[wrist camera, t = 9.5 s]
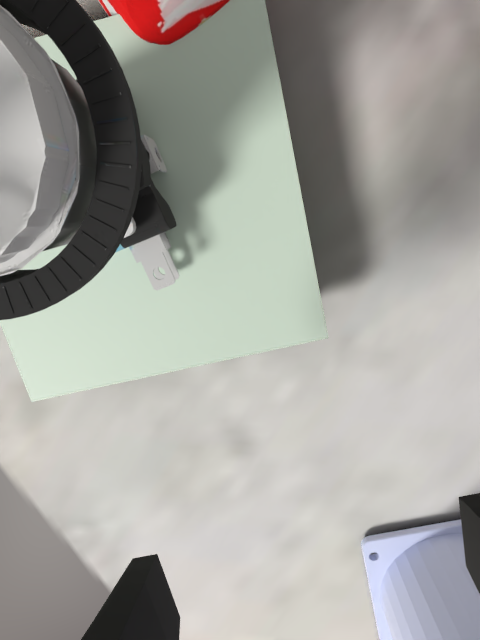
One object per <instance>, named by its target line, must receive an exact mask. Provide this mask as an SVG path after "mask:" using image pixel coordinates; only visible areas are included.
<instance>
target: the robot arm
mask: <svg viewBox="0 0 480 640" xmlns="http://www.w3.org/2000/svg"><path fill="white" fill-rule="evenodd" d="M459 504H460V514H461V519H460V520H454V521H449V522H443V523H437V524H432V525H426V526H421V527H415V528H409V529H404V530H398V531H393V532H387V533H381V534H376V535H370V536H367V537H365V538H364V539H363V540H362V542H361V548H362V553H363V558H364V563H365V568H366V573H367V579H368V584H369V589H370V594H371V599H372V604H373V610H374V615H375V620H376V625H377V630H378V636H379V640H480V493H478V494H473V495H467V496H462V497H459ZM373 552H376V553H375V554H373V555H372V554H371V553H373ZM179 628H180V616H179V613H178V610H177V607H176V605H175V602H174V599H173V596H172V594H171V591H170V588H169V585H168V583H167V580H166V577H165V574H164V572H163V569H162V566H161V563H160V561H159V558H158V555H157V554H155V555H150V556H144V557H139V558H134V559H132V561H131V562H130V564H129V565H128V567H127V568H126V570H125V572H124V573H123V575H122V576H121V578H120V579H119V581H118V583H117V584H116V586H115V587H114V589H113V591H112V592H111V594H110V595H109V597H108V599H107V600H106V602H105V603H104V605H103V607H102V608H101V610H100V611H99V613H98V614H97V616H96V618H95V619H94V621H93V622H92V624H91V625H90V627H89V629H88V630H87V631H86V633H85V634H84V636H83V637H82V639H81V640H179Z"/></svg>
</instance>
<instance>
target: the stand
mask: <svg viewBox="0 0 480 640" xmlns="http://www.w3.org/2000/svg"><path fill="white" fill-rule="evenodd" d="M93 22H94V23H95V24H96V26H97V27H98V28H99V29H100V31H101V32H102V34H103V36H104V37H105V39H106V40H107V42H108V44H109V45H110V47H111V48H112V50H113V52H114V54H115V56H116V58H117V60H118V62H119V64H120V66H121V68H122V70H123V72H124V75H125V77H126V80H127V83H128V85H129V88H130V90H131V94H132V97H133V101H134V104H135V108H136V112H137V117H138V122H139V128H140V136H142V135H146V136H148V137H150V138H151V139H153V140H154V142H155V143H156V145H157V147H158V150H159V152H160V154H161V157H162V159H163V161H164V164H165V166H166V169H167V172H166V173H164V172H160V171H156V172H154V173H152V174H151V179H152V181H153V183H154V185H155V187H156V189H157V190H158V191H159V193H160V194H161V195H162V197H163V198H164V199H165V201H166V202H167V203H168V205H169V207H170V209H171V211H172V213H173V215H174V218H175V221H176V224H177V226H176V227H174V228H172V229H170V230H168V231H165V233H166V236H167V238H168V240H169V242H170V245H171V248H169V249H168V251H169V253H170V255H171V257H172V260H173V262H174V264H175V266H176V269H177V271H178V273H179V278H178V279H176V280H175V283H174V284H172V285H170V286H167V287H165V288H162V289H160V290H158V291H157V290H154V289H153V287H152V284H151V282H150V280H149V278H148V276H147V274H146V272H145V269H144V267H143V265H142V263H141V262H138V263H136V261H135V259H134V256H133V254H132V252H131V250H130V248H129V247H127V248H125V249H123V250H120V251H118V252H115V253H114V255H113V256H112V258H111V259H110V260H109V261H108V263H107V264H106V265H105V267H104V268H103V269H102V270H101V271H100V272H99V273H98V274H97V275H96V276H95V277H94V278H93V279H92V280H91V281H90V282H88V283H87V284H86V285H85V286H83V287H82V288H81V289H80V290H78V291H77V292H75V293H73V294H72V295H70V296H69V297H67V298H65V299H64V300H62V301H60V302H58V303H56V304H54V305H52V306H50V307H48V308H46V309H44V310H41V311H39V312H36V313H33V314H30V315H27V316H22V317H18V318H13V319H7V320H0V325H1V327H2V330H3V332H4V335H5V337H6V340H7V342H8V345H9V347H10V350H11V352H12V354H13V357H14V359H15V362H16V364H17V367H18V369H19V372H20V374H21V377H22V379H23V382H24V384H25V387H26V389H27V392H28V394H29V397H30V399H31V402H34V401H38V400H43V399H48V398H52V397H57V396H61V395H66V394H71V393H75V392H80V391H85V390H89V389H94V388H99V387H103V386H108V385H113V384H117V383H122V382H127V381H131V380H136V379H141V378H145V377H150V376H155V375H159V374H164V373H169V372H173V371H178V370H182V369H187V368H192V367H196V366H201V365H206V364H210V363H215V362H220V361H224V360H229V359H234V358H238V357H243V356H248V355H252V354H257V353H262V352H266V351H271V350H276V349H280V348H285V347H290V346H294V345H299V344H304V343H308V342H313V341H317V340H322V339H327V338H328V333H327V327H326V322H325V317H324V311H323V306H322V301H321V295H320V290H319V285H318V280H317V274H316V269H315V264H314V258H313V253H312V248H311V242H310V237H309V232H308V226H307V221H306V216H305V210H304V205H303V200H302V194H301V189H300V184H299V179H298V173H297V168H296V163H295V157H294V152H293V147H292V141H291V136H290V131H289V125H288V120H287V115H286V109H285V104H284V99H283V94H282V88H281V83H280V78H279V72H278V67H277V62H276V56H275V51H274V46H273V40H272V35H271V30H270V24H269V19H268V14H267V8H266V3H265V0H230V1H229V2H228V3H226V4H225V5H224V6H223V7H222V8H221V9H220V10H218V11H217V12H216V13H215V14H214V15H213V16H211V17H210V18H209V19H208V20H207V21H205V22H204V23H202V24H201V25H200V26H198V27H197V28H196V29H194V30H193V31H191V32H190V33H188V34H187V35H185V36H184V37H183V38H181V39H179V40H177V41H175V42H173V43H171V44H170V45H158V44H154V43H148V42H146V41H145V40H143V39H141V38H140V37H139V36H137V35H136V34H135V33H134V32H133V31H132V30H131V29H130V27H129V26H128V25H127V23H126V22H125V21H124V20H123V18H122V17H121V16H120V14H117V15H114V16H110V17H107V18H103V19H100V20H96V21H93ZM34 39H35V40H36V41H37V42H38V43H39V44H40V45H41V46H42V48H43V49H44V50H45V51H46V52H47V54H48V55H49V57H50V58H51V59H52V60H54V61H55V62H56V63H58V64H59V65H61V66H62V67H64V68H65V69H67V70H68V71H69V73H70V74H71V75H72V77H73V78H74V79H75V80H76V79H77V78H76V75H75V73H74V72H73V70H72V68H71V67H70V65H69V63H68V62H67V60H66V58H65V57H64V55H63V54H62V53H61V51H60V50H59V49H58V47H57V46H56V45H55V43H54V42H53V41H52V39H51V38H50V37H49V36H48V35H43V36H40V37H36V38H34ZM67 245H68V244H67ZM67 245H63V246H60V247H56V248H53V249H49V250H46V251H42V252H41V253H39V254H38V255H37V256H36V257H35V258H33V259H32V260H31V261H30V262H29V263H28V264H26V265H25V266H24V267H23V268H21V269H19V270H34V269H40V268H42V267H43V266H45V265H46V264H48V263H49V262H50V261H51V260H53V259H54V258H55V257H56V256H57V255H58V254H59V253H60V252H61V251H62V250H63V249H64V248H65V247H66V246H67ZM159 271H160V273H162V274H165V271H164V269H162V268H161V267H159ZM153 273H154V272H153ZM154 276H155V274H154ZM155 278H156V276H155Z"/></svg>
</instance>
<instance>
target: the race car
mask: <svg viewBox="0 0 480 640" xmlns="http://www.w3.org/2000/svg"><path fill="white" fill-rule="evenodd" d="M98 1H99V3H100V4H101V6H102V7H103V9H104V10H105V12H106V13H107V15H108V16H109V17H110V16H114V15H117V14H120V16H121V17H122V18H123V20H124V21H125V22H126V23H127V25H128V26H129V27H130V29H131V30H132V31H133V32H134V33H135V34H136V35H137V36H139V37H140V38H141V39H143V40H145V41H146V42H148V43H154V44H158V45H170V44H171V43H173V42H175V41H177V40H179V39H181V38H183V37H184V36H185V35H187V34H188V33H190V32H191V31H193V30H194V29H196V28H197V27H198V26H200V25H201V24H202V23H204V22H205V21H207V20H208V19H209V18H210V17H211V16H213V15H214V14H215V13H216V12H217V11H218V10H220V9H221V8H222V7H223V6H224V5H225V4H226V3H228V2H229V1H230V0H98Z"/></svg>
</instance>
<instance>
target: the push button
mask: <svg viewBox="0 0 480 640" xmlns="http://www.w3.org/2000/svg"><path fill="white" fill-rule="evenodd" d="M21 24H24V25H27V26H29V27H32V28H35V29H37V30H39V31H41V32H43V33H45V34H47V35H48V36H49V37H50V38H51V39H52V41H53V42H54V43H55V45H56V46H57V47H58V49H59V50H60V51H61V53H62V54H63V55H64V57H65V58H66V60H67V62H68V63H69V65H70V67H71V68H72V70H73V72H74V73H75V75H76V78H77V79H76V80H75V79H74V78H73V77H72V75H71V74H70V73H69V71H68V70H67V69H65V68H64V67H62V66H61V65H59V64H58V63H56V62H55V61H54V60H52V59H51V58H50V57H49V55H48V54H47V52H46V51H45V50H44V49H43V48H42V46H41V45H40V44H39V43H38V42H37V41H36V40H35V39H34V38H33V37H32V36H31V35H30V34H29V33H28V32H27V30H26V29H25V28H24V27H23V26H22V25H21ZM156 171H160V172H164V173H166V172H167V169H166V166H165V164H164V161H163V159H162V157H161V154H160V152H159V150H158V147H157V145H156V143H155V142H154V140H153V139H151V138H150V137H148V136H146V135H142V136H140V128H139V122H138V117H137V112H136V108H135V104H134V101H133V97H132V94H131V90H130V88H129V85H128V83H127V80H126V77H125V75H124V72H123V70H122V68H121V66H120V64H119V62H118V60H117V58H116V56H115V54H114V52H113V50H112V48H111V47H110V45H109V44H108V42H107V40H106V39H105V37H104V36H103V34H102V32H101V31H100V29H99V28H98V27H97V26H96V24H95V23H94V22H93V20H92V19H91V18H90V16H89V15H88V14H87V13H86V11H85V10H84V9H83V8H82V7H81V6H80V5H79V3H78V2H77V1H76V0H0V320H7V319H13V318H18V317H22V316H27V315H30V314H33V313H36V312H39V311H41V310H44V309H46V308H48V307H50V306H52V305H54V304H56V303H58V302H60V301H62V300H64V299H65V298H67V297H69V296H70V295H72V294H73V293H75V292H77V291H78V290H80V289H81V288H82V287H83V286H85V285H86V284H87V283H88V282H90V281H91V280H92V279H93V278H94V277H95V276H96V275H97V274H98V273H99V272H100V271H101V270H102V269H103V268H104V267H105V265H106V264H107V263H108V261H109V260H110V259H111V258H112V256H113V255H114V253H115V252H118V251H120V250H123V249H125V248H127V247H129V248H130V250H131V252H132V254H133V256H134V259H135V261H136V263H138V262H141V263H142V265H143V267H144V269H145V272H146V274H147V276H148V278H149V280H150V282H151V284H152V287H153V289H154V290H157V291H158V290H160V289H162V288H165V287H167V286H170V285H172V284H174V283H175V280H176V279H178V278H179V273H178V271H177V269H176V266H175V264H174V262H173V260H172V257H171V255H170V253H169V251H168V249H169V248H171V245H170V242H169V240H168V238H167V236H166V233H165V231H168V230H170V229H172V228H174V227H176V226H177V224H176V221H175V218H174V215H173V213H172V211H171V209H170V207H169V205H168V203H167V202H166V201H165V199H164V198H163V197H162V195H161V194H160V193H159V191H158V190H157V189H156V187H155V185H154V183H153V181H152V179H151V174H152V173H154V172H156ZM67 244H68V245H67ZM63 245H67V246H66V247H65V248H64V249H63V250H62V251H61V252H60V253H59V254H58V255H57V256H56V257H55V258H54V259H53V260H51V261H50V262H49V263H48V264H46V265H45V266H43V267H42V268H40V269H34V270H19V269H21V268H23V267H24V266H25V265H26V264H28V263H29V262H30V261H31V260H32V259H33V258H35V257H36V256H37V255H38V254H39V253H41V252H42V251H46V250H49V249H53V248H56V247H60V246H63ZM159 267H161V268H162V269H164V271H165V274H162V273H160V271H159ZM153 272H154V273H153ZM154 274H155V276H156V278H155V276H154Z"/></svg>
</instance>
